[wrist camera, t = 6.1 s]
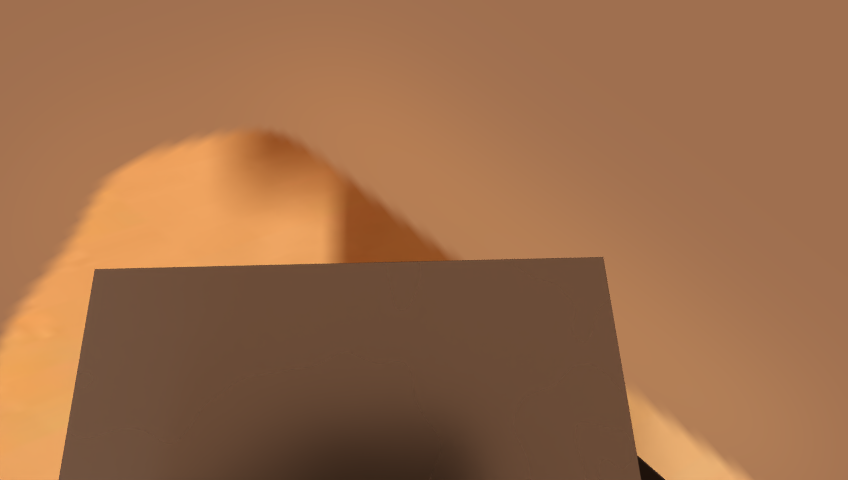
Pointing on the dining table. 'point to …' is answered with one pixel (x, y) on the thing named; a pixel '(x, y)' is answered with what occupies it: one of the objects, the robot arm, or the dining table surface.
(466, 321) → the grey rectangular block
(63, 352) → the dining table surface
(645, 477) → the robot arm
